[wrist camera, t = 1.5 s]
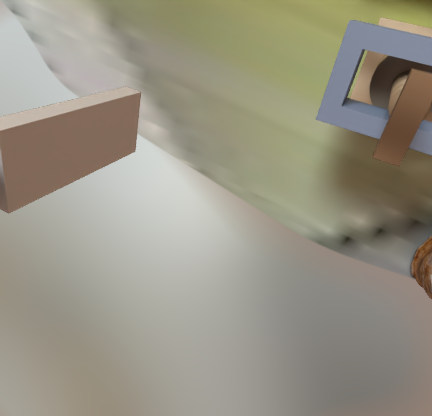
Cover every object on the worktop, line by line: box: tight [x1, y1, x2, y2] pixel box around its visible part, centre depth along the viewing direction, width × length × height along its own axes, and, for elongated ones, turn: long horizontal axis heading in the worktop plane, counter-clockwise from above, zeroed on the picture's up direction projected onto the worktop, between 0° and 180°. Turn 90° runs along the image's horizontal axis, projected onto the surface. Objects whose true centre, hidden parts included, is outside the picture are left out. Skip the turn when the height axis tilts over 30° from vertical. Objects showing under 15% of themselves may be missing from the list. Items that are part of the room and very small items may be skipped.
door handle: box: [350, 17, 432, 166], centre depth 24 cm, size 7×7×14 cm
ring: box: [316, 20, 432, 155], centre depth 23 cm, size 10×8×3 cm
